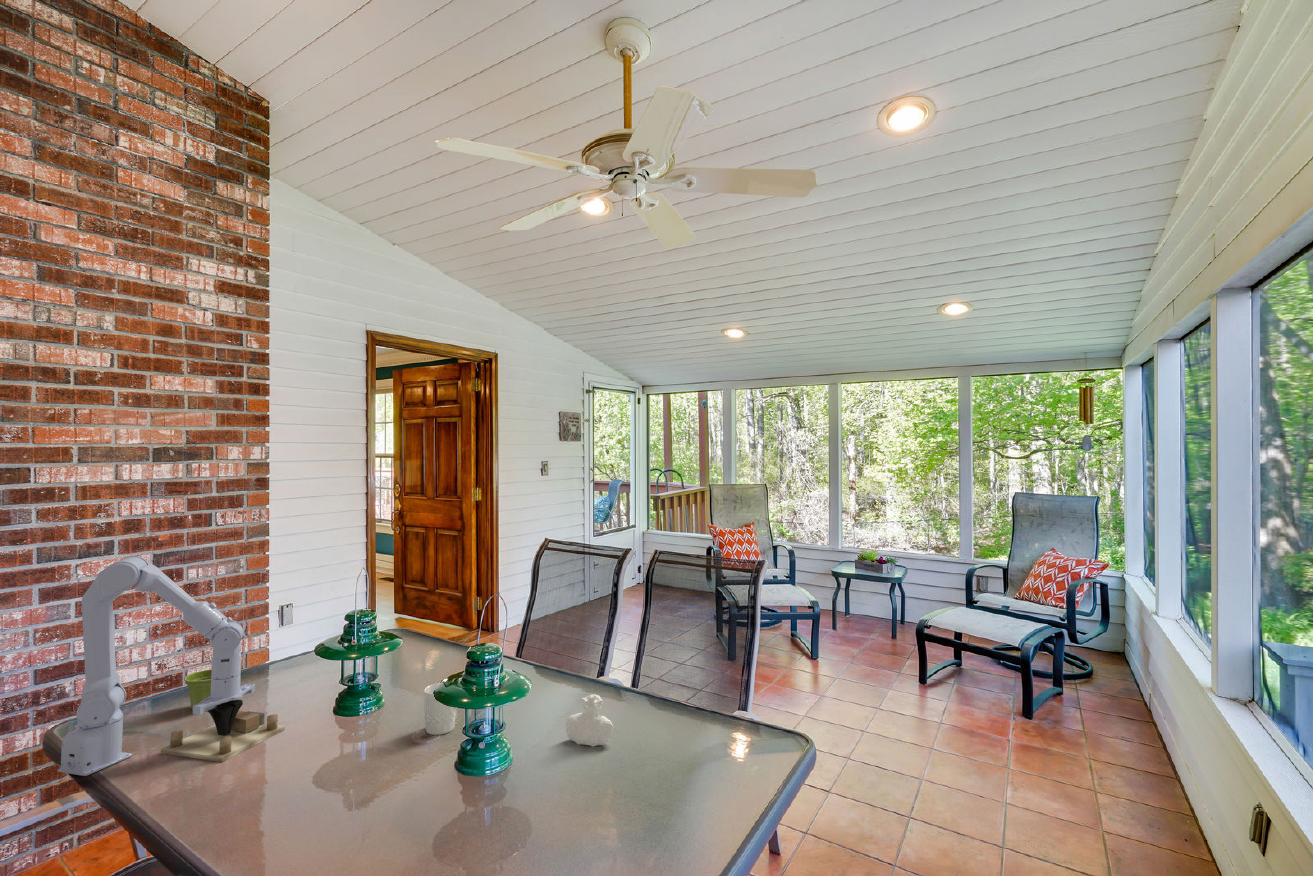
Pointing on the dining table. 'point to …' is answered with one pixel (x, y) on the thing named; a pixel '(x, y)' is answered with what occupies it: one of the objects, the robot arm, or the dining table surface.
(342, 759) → the dining table surface
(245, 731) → the hinged leg
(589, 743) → the white sack
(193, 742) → the tan peg board
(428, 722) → the white cup
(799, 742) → the dining table surface
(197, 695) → the plant pot
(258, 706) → the dining table surface
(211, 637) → the robot arm
